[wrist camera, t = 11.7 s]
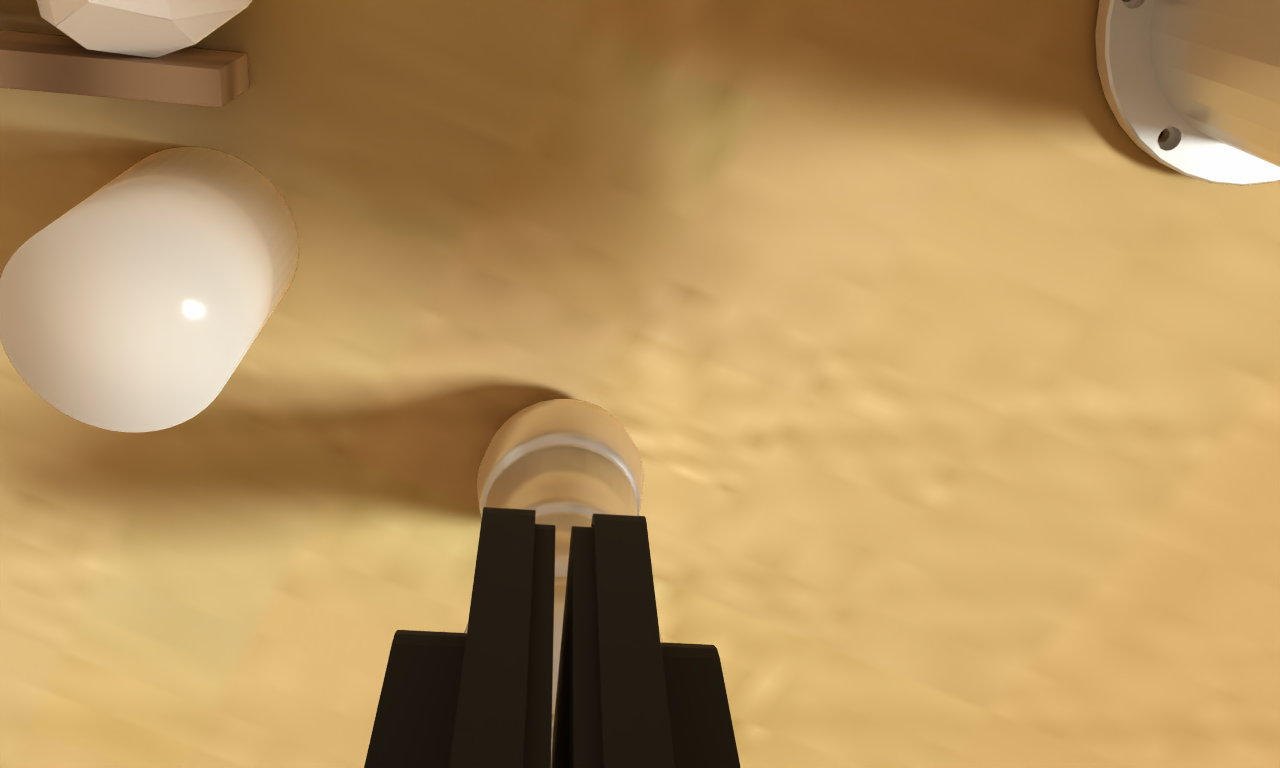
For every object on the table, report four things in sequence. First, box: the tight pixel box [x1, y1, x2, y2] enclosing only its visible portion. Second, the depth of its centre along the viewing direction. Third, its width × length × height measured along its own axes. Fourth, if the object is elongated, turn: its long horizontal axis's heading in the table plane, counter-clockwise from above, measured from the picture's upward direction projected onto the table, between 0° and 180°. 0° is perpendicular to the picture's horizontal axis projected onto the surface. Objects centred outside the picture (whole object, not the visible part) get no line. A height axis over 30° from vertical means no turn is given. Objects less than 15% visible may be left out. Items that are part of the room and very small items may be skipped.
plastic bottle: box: [464, 399, 663, 759], centre depth 38 cm, size 6×7×20 cm
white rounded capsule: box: [0, 147, 299, 432], centre depth 39 cm, size 7×7×9 cm
